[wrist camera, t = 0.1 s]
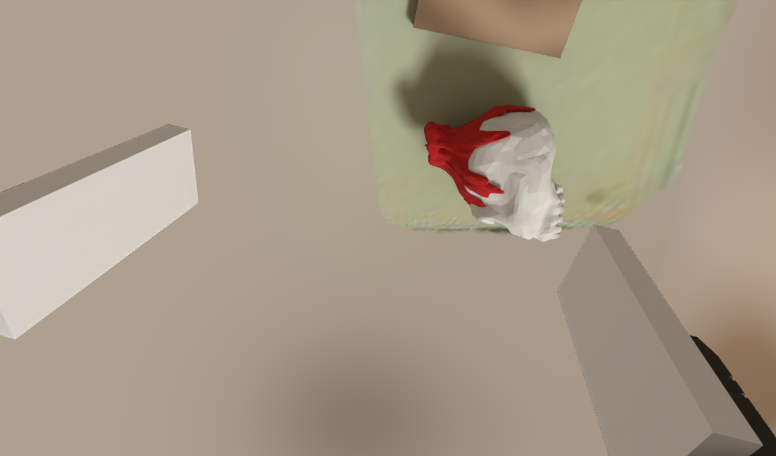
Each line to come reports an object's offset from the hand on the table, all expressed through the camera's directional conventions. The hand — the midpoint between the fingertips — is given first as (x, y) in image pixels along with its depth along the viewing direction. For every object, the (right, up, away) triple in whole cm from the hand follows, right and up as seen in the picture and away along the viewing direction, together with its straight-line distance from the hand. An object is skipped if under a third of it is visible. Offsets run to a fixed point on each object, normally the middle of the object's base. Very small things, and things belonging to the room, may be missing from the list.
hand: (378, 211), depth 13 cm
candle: (+11, +7, +27) cm, 30 cm away
